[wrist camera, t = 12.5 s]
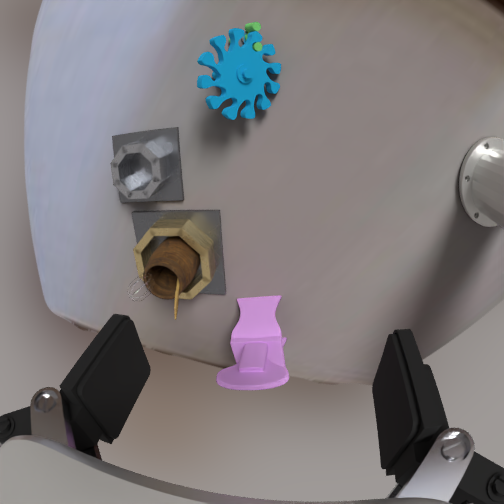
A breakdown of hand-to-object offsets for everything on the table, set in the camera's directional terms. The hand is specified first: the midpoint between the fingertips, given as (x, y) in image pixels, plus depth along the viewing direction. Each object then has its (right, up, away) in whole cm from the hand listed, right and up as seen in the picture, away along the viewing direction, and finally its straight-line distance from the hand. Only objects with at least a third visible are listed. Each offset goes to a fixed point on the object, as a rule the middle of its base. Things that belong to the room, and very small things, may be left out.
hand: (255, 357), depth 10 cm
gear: (-1, +24, +19) cm, 30 cm away
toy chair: (+2, -6, +34) cm, 34 cm away
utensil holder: (-9, +3, +29) cm, 31 cm away
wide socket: (-10, +4, +30) cm, 32 cm away
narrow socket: (-13, +14, +25) cm, 32 cm away
